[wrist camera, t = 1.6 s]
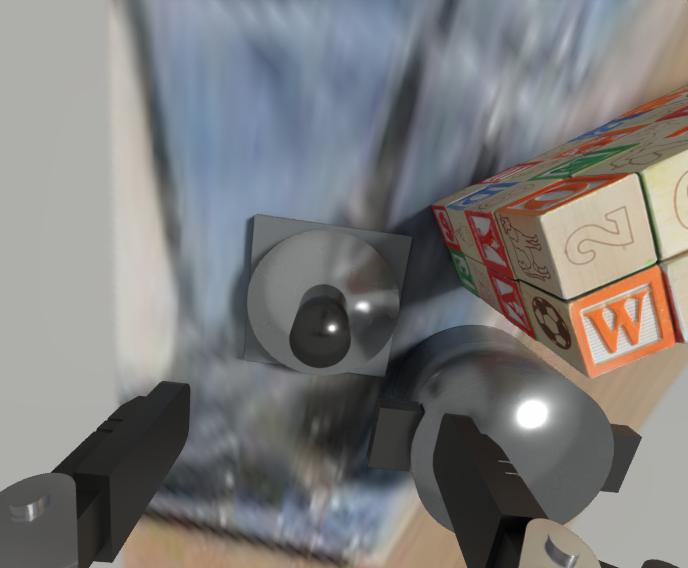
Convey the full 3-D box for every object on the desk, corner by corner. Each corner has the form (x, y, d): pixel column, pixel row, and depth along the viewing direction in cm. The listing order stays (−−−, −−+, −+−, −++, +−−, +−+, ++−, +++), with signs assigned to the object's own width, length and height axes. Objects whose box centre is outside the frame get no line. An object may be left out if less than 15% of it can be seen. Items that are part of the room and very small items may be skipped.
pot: (377, 311, 23) (394, 359, 16) (586, 339, 24) (683, 394, 17) (353, 443, 26) (360, 530, 19) (542, 463, 27) (611, 553, 20)
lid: (257, 218, 21) (225, 227, 15) (408, 240, 21) (437, 257, 15) (246, 357, 23) (215, 414, 17) (382, 373, 24) (398, 434, 18)
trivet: (257, 214, 21) (254, 214, 21) (409, 236, 22) (412, 237, 21) (246, 354, 24) (243, 360, 23) (383, 371, 24) (385, 376, 24)
